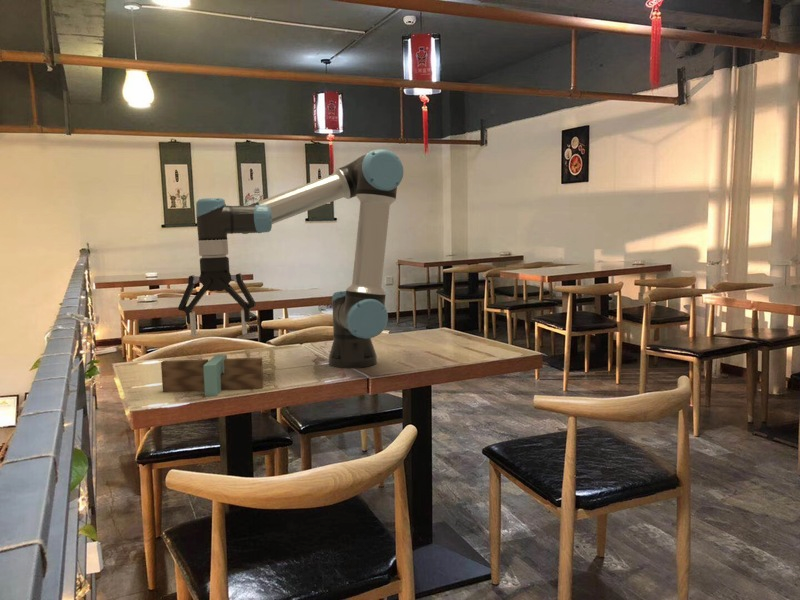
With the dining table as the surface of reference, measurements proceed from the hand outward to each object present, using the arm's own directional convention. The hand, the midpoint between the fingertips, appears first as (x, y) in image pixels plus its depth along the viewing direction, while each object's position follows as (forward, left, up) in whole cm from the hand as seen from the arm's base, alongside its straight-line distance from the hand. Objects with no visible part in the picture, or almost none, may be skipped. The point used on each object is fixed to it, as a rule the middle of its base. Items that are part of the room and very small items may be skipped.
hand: (219, 334), depth 169 cm
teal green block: (0, +5, -14) cm, 15 cm away
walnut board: (+1, +5, -14) cm, 15 cm away
